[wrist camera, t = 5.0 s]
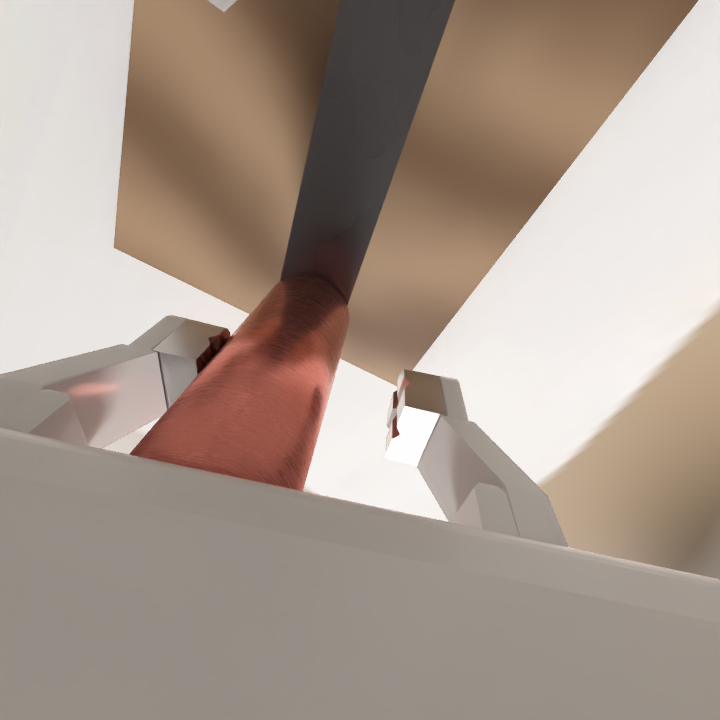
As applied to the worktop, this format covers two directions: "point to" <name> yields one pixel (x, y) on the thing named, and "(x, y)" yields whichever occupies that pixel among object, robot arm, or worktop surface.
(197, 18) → the press base
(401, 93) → the lever
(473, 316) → the worktop surface
